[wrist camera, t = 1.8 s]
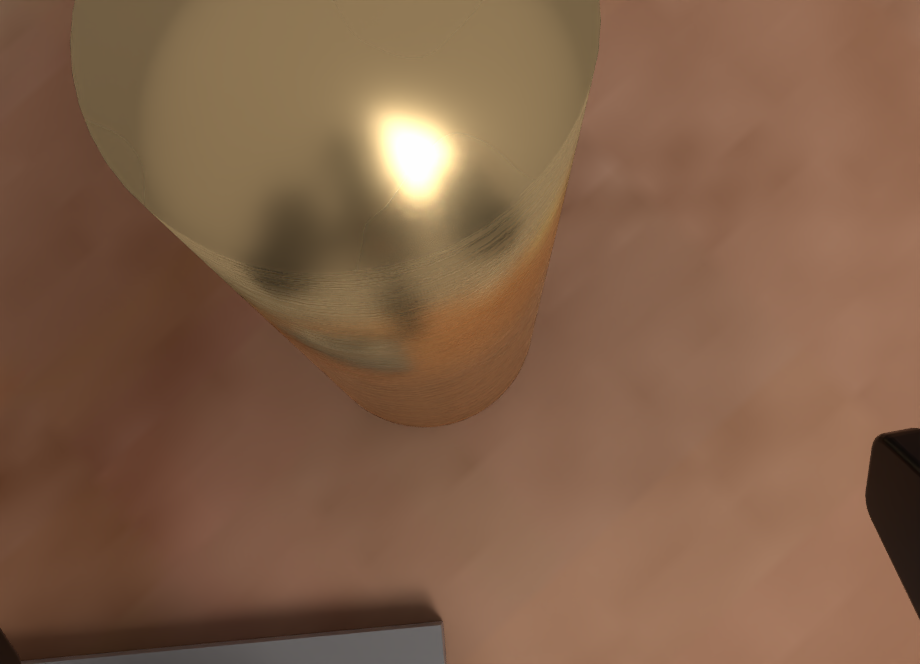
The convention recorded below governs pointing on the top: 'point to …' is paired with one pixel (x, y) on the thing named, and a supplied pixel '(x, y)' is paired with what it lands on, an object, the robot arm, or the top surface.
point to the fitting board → (294, 649)
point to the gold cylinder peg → (355, 170)
